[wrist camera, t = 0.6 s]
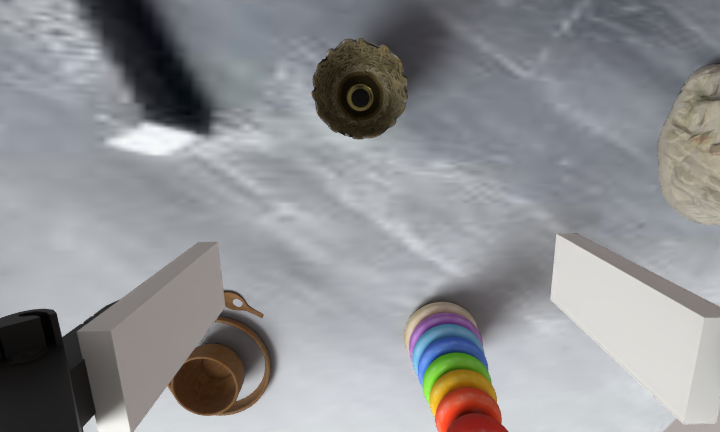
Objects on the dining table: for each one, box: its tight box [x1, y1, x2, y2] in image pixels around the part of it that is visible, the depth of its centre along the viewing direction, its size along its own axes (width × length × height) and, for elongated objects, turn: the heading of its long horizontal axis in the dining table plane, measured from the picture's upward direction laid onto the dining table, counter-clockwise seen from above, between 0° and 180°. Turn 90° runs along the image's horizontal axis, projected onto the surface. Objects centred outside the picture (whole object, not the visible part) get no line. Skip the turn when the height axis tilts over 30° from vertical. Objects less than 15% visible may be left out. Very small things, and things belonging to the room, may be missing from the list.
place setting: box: [167, 292, 271, 416], centre depth 41 cm, size 18×20×6 cm
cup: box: [312, 38, 408, 139], centre depth 34 cm, size 8×7×8 cm
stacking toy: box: [404, 302, 508, 432], centre depth 34 cm, size 8×8×19 cm
